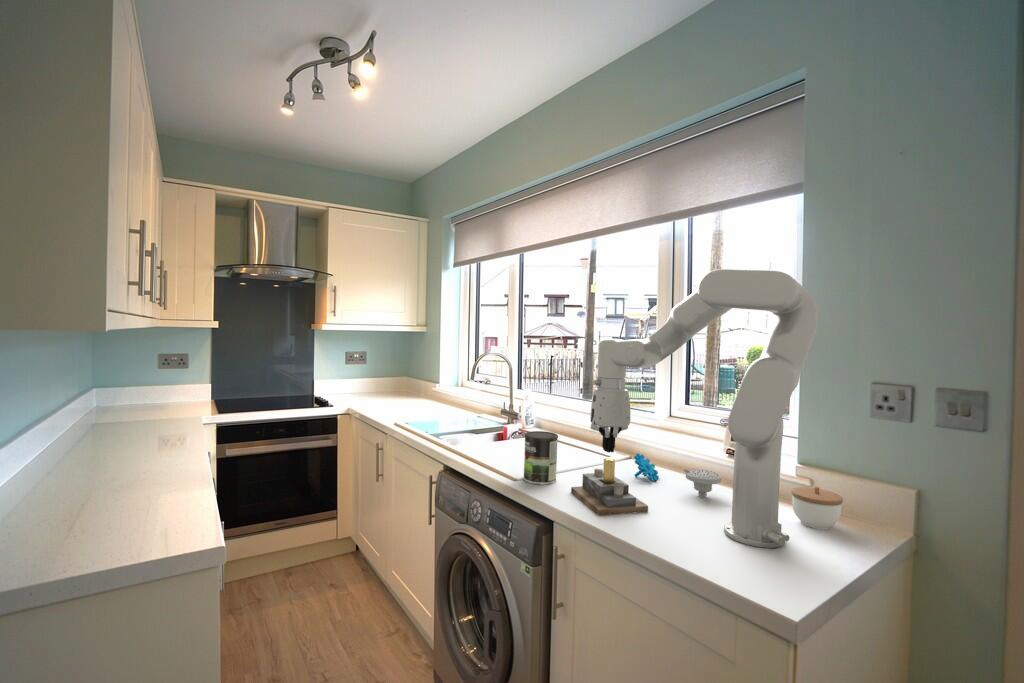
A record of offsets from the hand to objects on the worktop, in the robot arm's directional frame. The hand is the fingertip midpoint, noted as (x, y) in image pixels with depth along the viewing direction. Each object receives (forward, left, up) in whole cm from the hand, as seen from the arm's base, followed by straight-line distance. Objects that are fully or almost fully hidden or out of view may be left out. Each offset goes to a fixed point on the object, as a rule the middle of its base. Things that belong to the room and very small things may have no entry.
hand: (608, 451), depth 133 cm
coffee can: (+22, +12, -14) cm, 28 cm away
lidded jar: (-25, -44, -14) cm, 53 cm away
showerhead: (-1, -29, -14) cm, 32 cm away
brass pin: (0, 0, -12) cm, 12 cm away
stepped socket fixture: (0, 0, -14) cm, 14 cm away
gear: (+17, -22, -14) cm, 32 cm away
